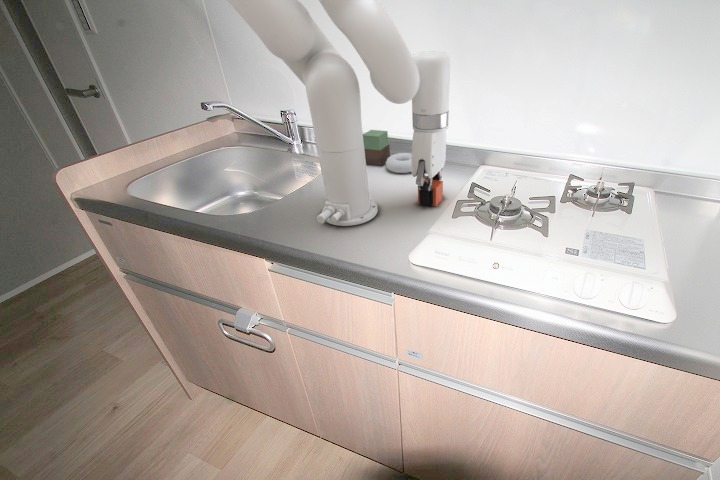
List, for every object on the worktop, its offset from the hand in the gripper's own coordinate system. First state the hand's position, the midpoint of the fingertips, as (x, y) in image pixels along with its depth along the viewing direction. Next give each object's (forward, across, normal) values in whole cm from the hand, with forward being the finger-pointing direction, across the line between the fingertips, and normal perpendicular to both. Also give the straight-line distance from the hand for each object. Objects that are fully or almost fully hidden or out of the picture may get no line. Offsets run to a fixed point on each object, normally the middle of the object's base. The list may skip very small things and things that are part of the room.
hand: (430, 199), depth 86 cm
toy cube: (0, 0, 0) cm, 0 cm away
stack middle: (-4, -20, -25) cm, 32 cm away
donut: (+1, -17, -15) cm, 23 cm away
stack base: (0, -20, -25) cm, 32 cm away
